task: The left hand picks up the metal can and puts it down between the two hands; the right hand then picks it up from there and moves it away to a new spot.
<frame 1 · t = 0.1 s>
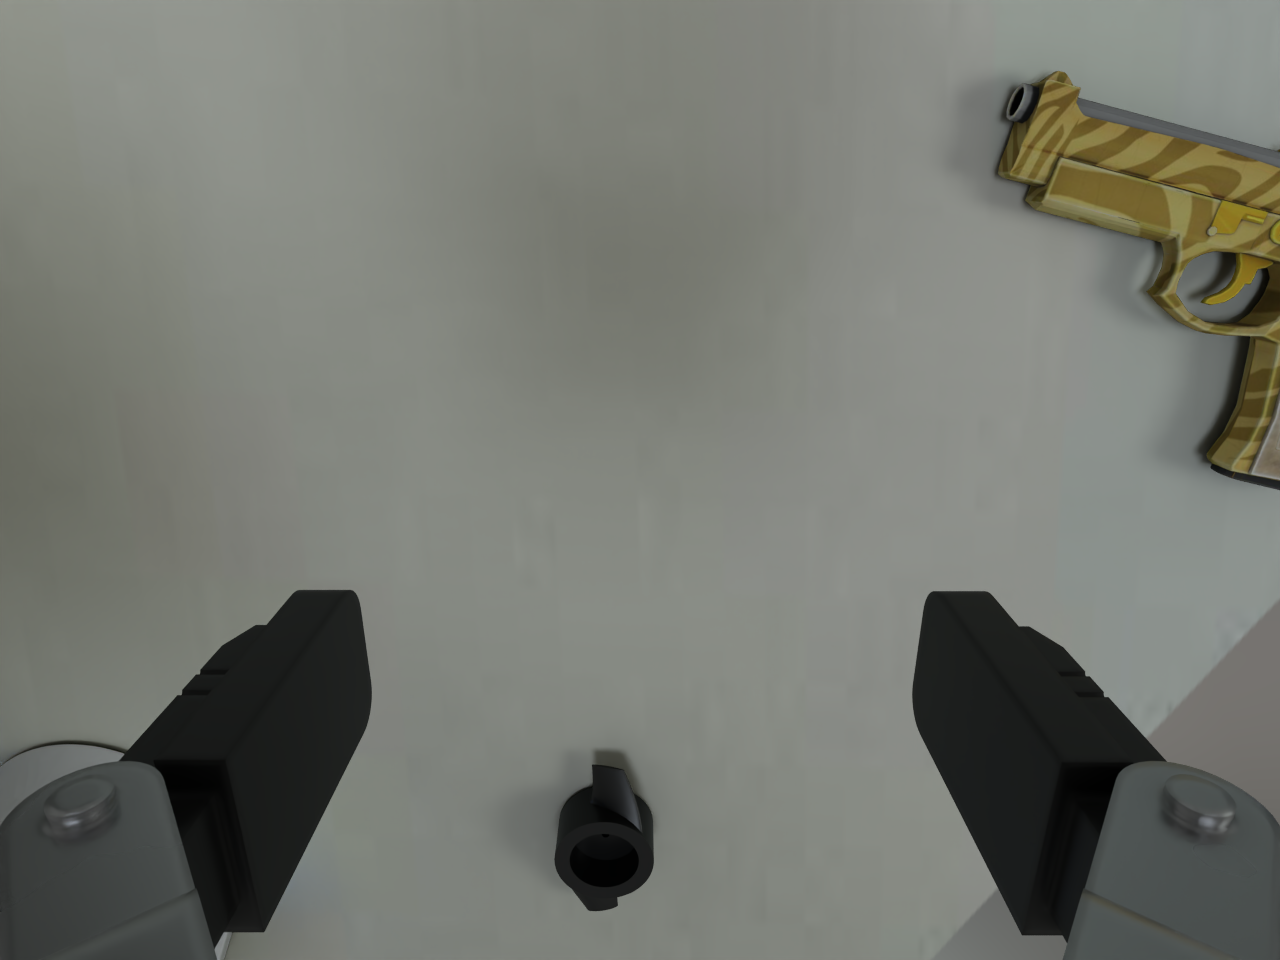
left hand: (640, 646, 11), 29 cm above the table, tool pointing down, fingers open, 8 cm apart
handgun: (1177, 296, 38), on the table
duct tape: (606, 821, 50), on the table
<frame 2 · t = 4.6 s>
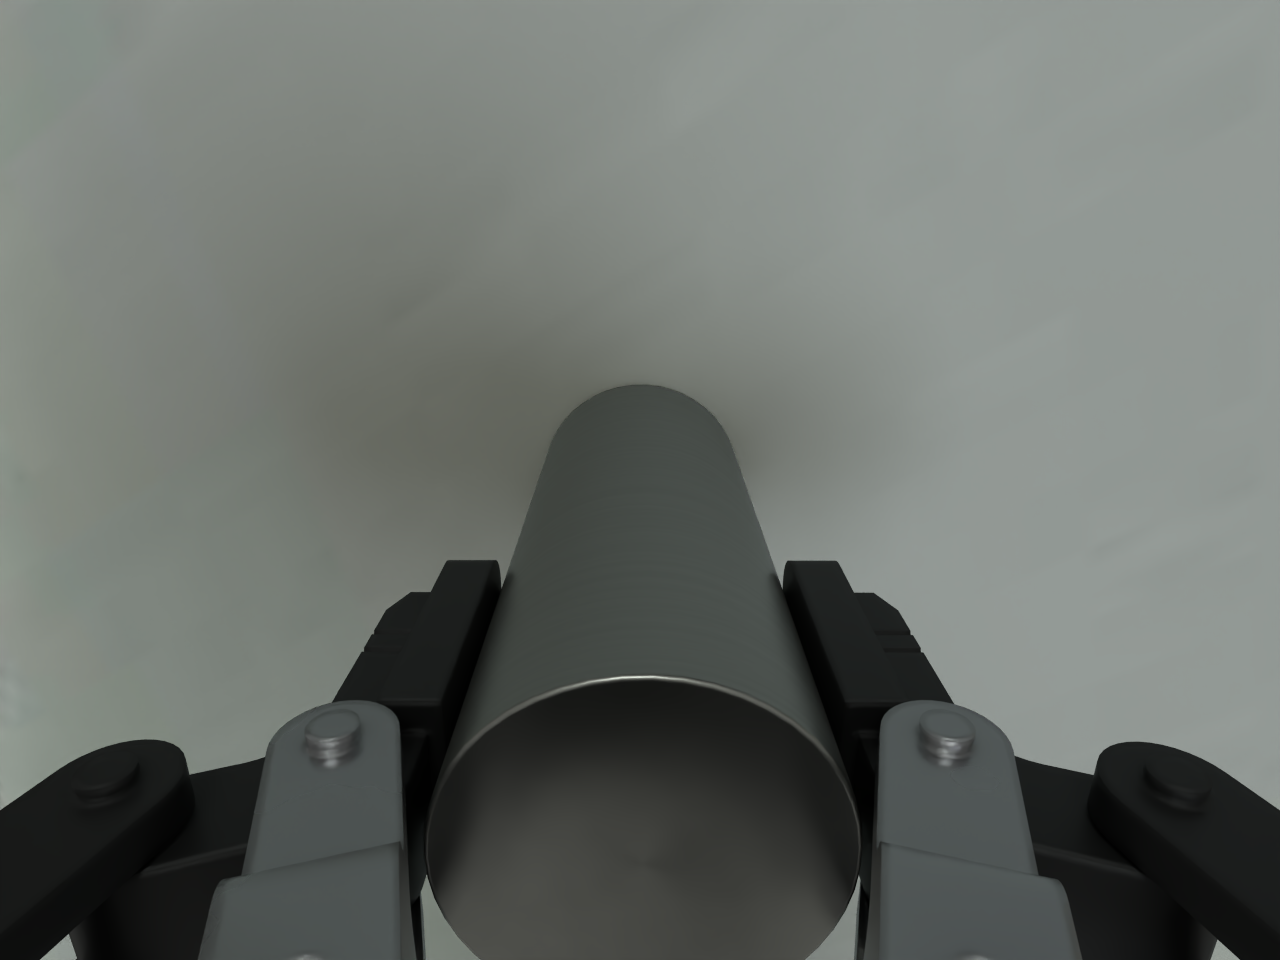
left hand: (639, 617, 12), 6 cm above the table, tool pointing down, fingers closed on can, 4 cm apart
can: (640, 477, 18), on the table, touching left hand
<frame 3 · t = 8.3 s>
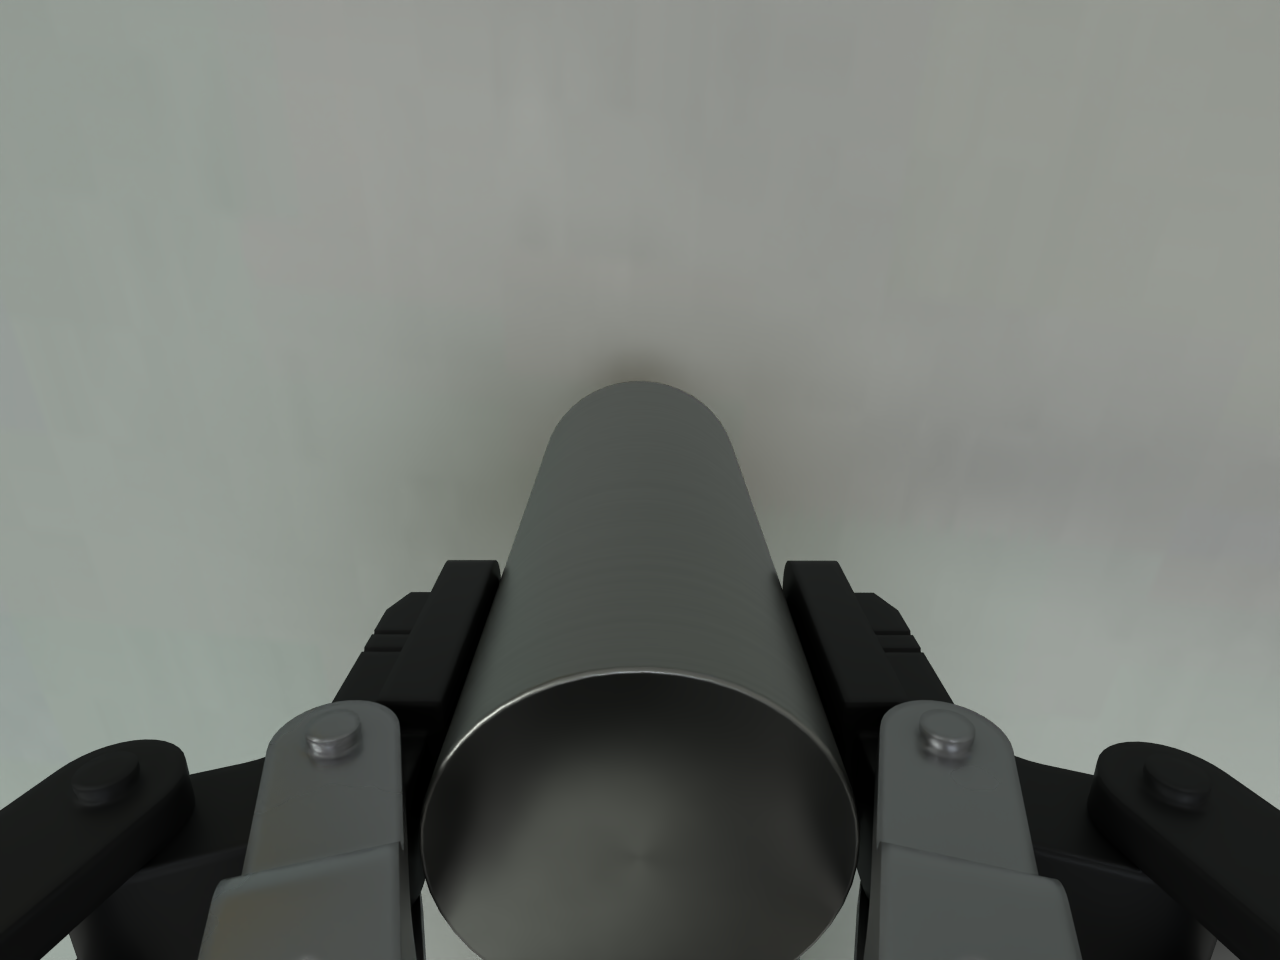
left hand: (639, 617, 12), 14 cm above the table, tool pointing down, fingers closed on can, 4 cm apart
can: (639, 474, 18), point 8 cm above the table, touching left hand
when the left hand's fingers open (8 cm above the table, at t = 11.9 s): can drops 2 cm, on the table.
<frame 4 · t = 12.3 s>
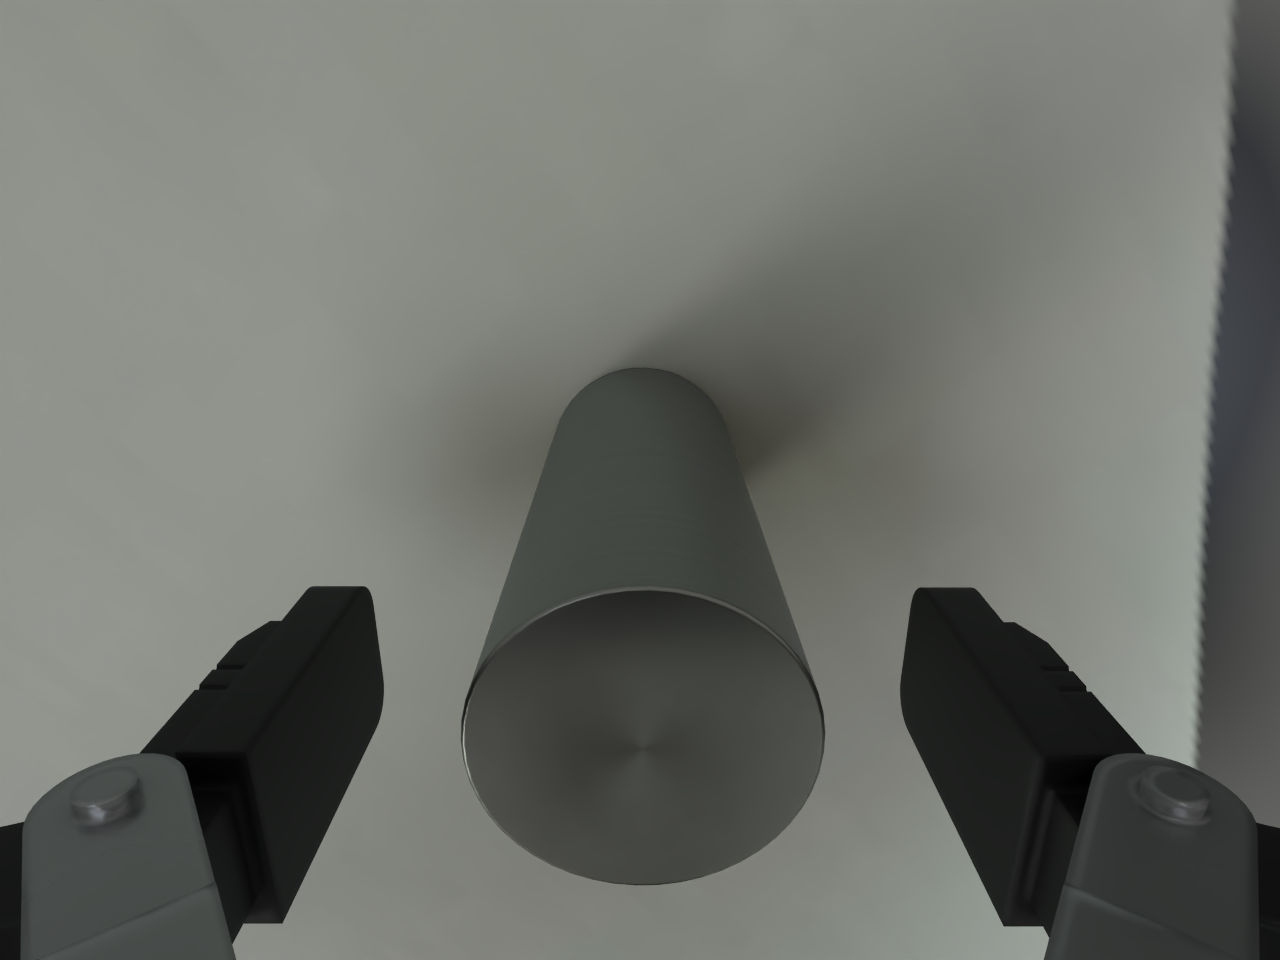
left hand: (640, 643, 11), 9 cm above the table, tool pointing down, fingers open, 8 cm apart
can: (641, 454, 19), on the table
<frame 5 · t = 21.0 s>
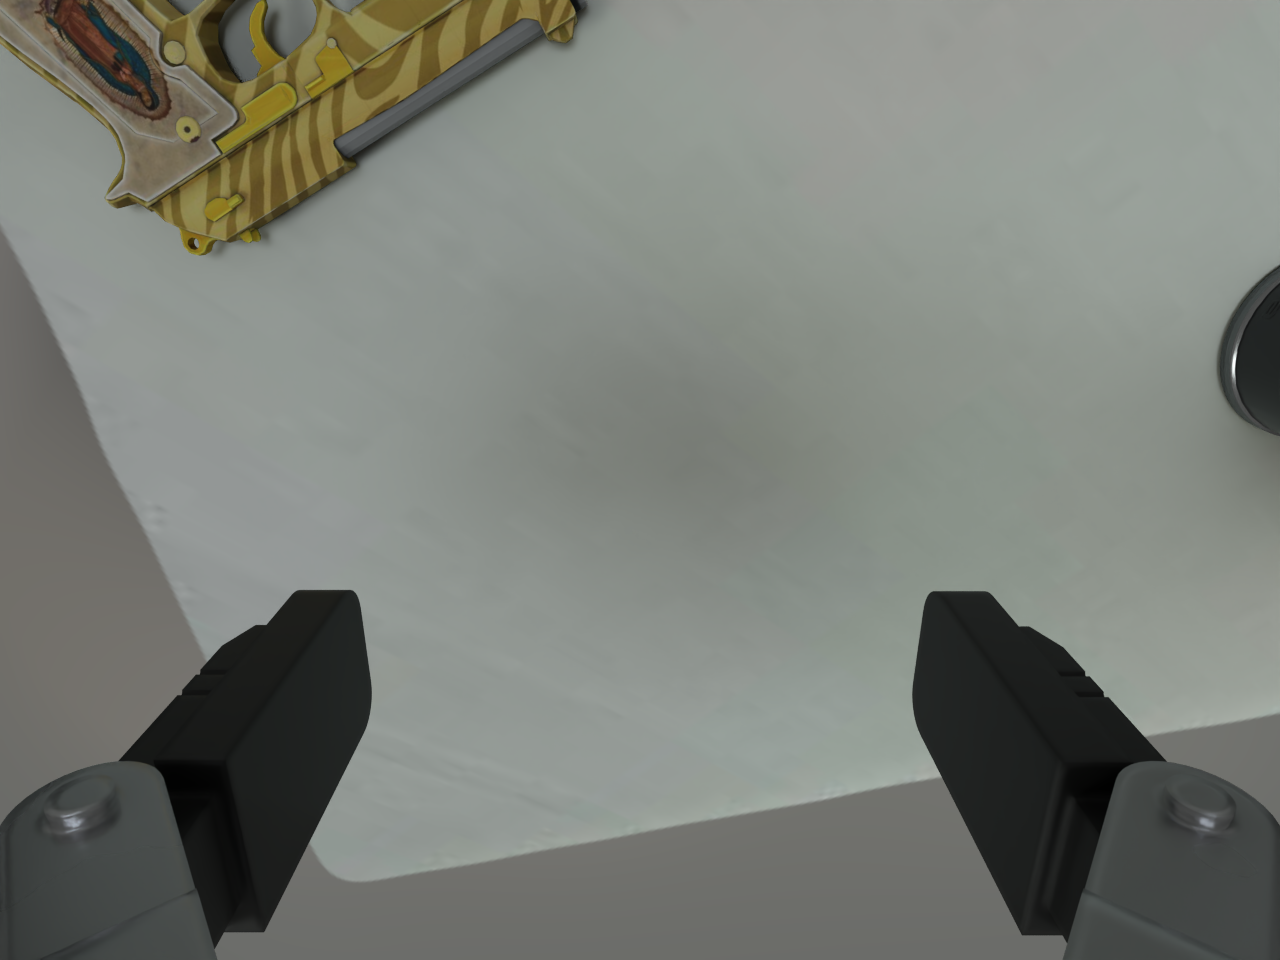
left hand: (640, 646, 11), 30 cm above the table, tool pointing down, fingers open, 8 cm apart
handgun: (284, 1, 35), on the table
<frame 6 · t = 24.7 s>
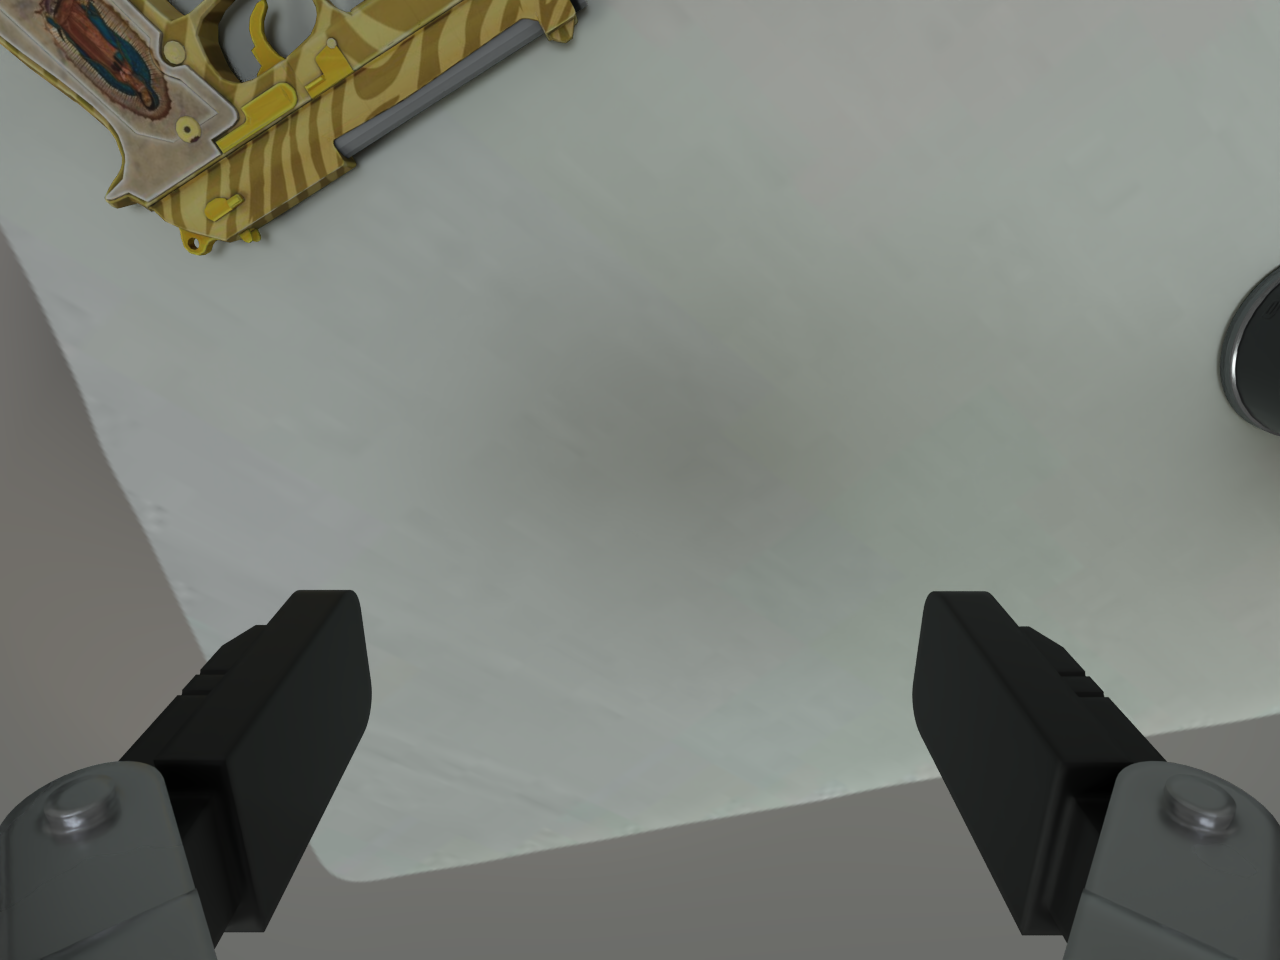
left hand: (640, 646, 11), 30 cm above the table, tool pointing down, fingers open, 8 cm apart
handgun: (284, 1, 35), on the table
when the right hand's fingers open (7 cm above the table, at t = 28.9 s): can drops 2 cm, on the table.
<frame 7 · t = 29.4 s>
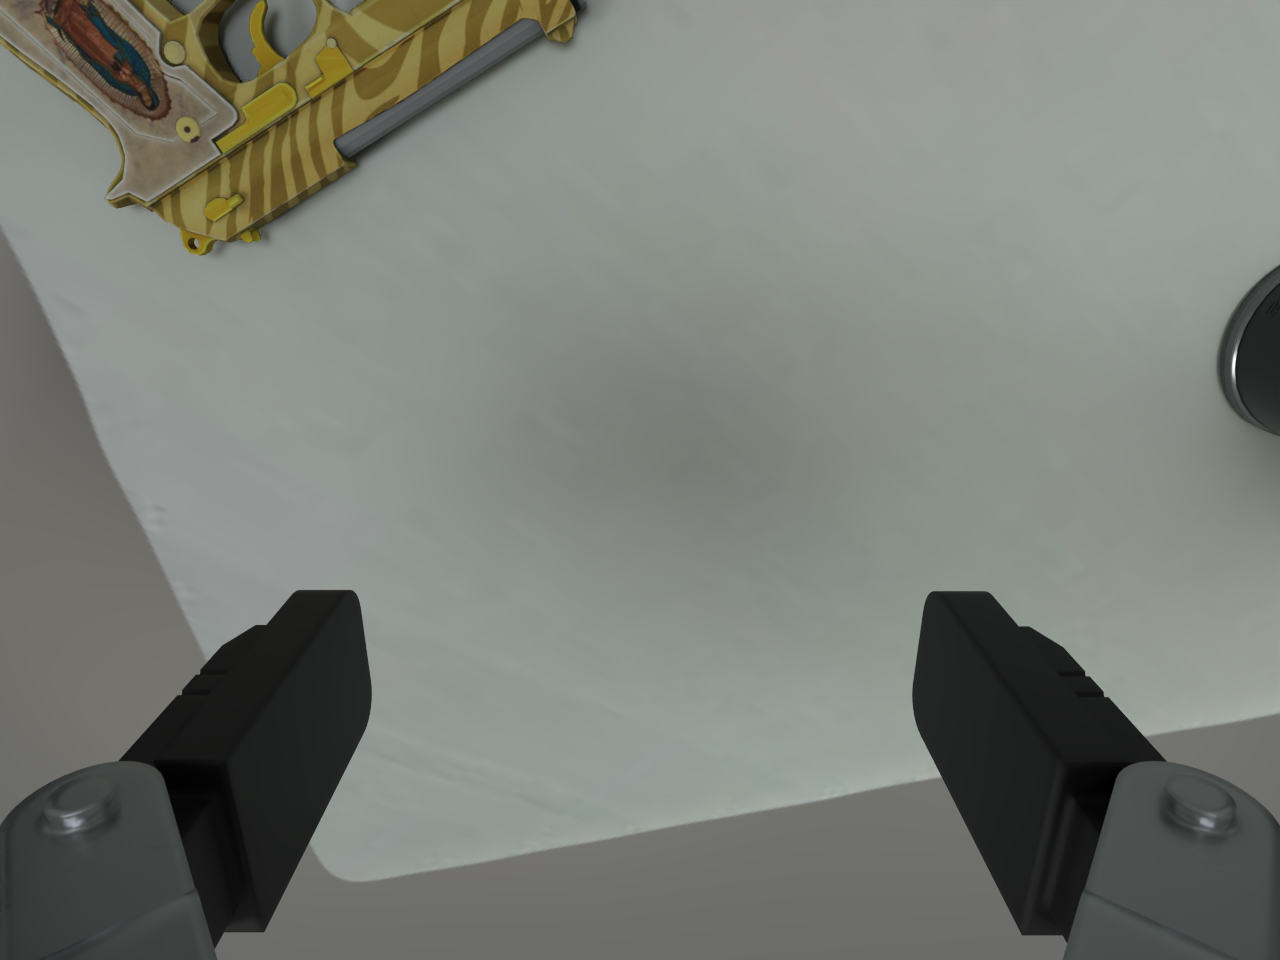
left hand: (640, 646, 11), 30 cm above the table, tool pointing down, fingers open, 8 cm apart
handgun: (284, 1, 35), on the table
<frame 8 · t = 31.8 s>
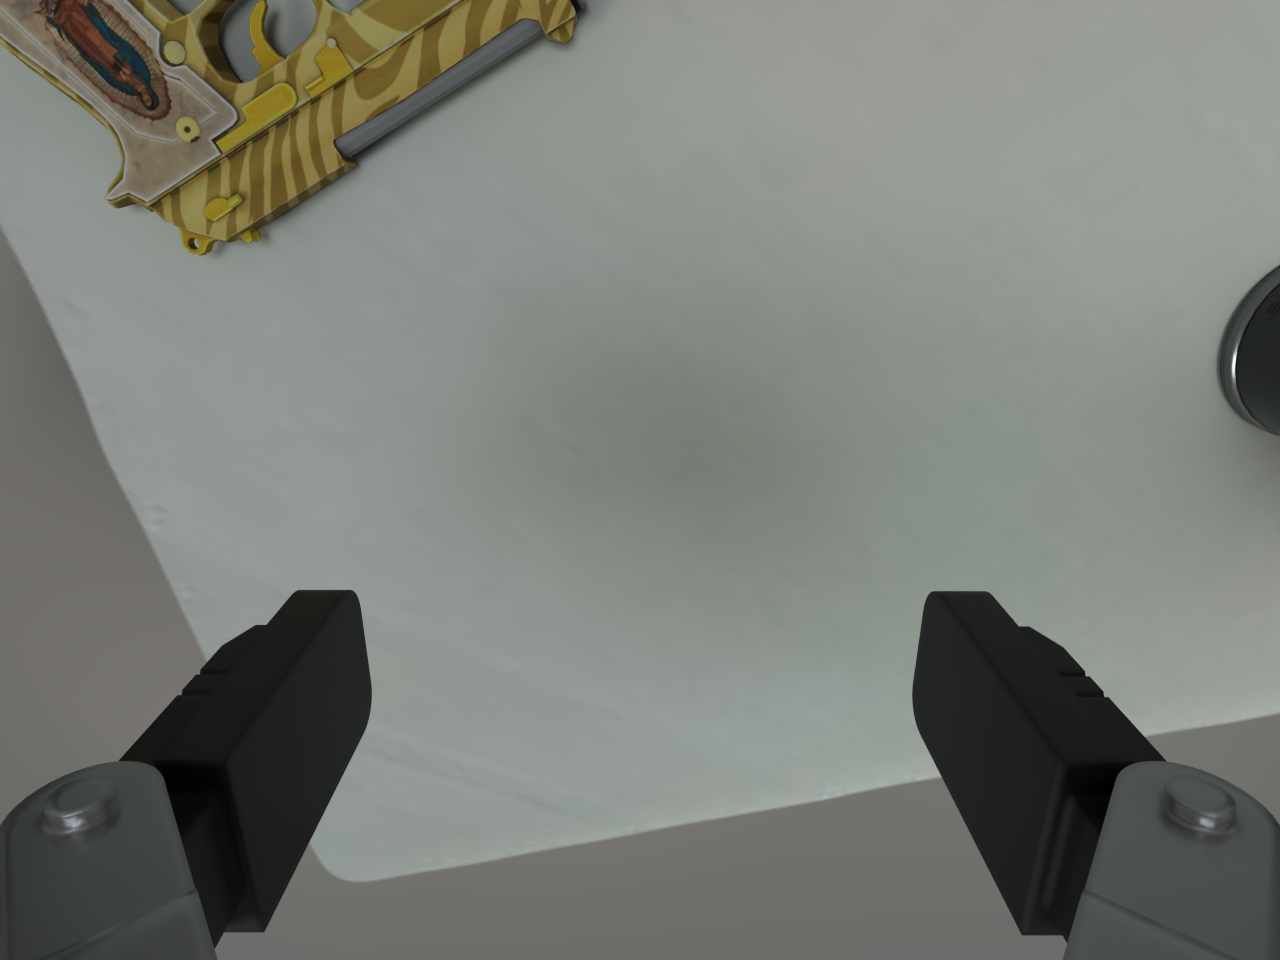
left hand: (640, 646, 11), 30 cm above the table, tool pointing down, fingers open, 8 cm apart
handgun: (284, 1, 35), on the table
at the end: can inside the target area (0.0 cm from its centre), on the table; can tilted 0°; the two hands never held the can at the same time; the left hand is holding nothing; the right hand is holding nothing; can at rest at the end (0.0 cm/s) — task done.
